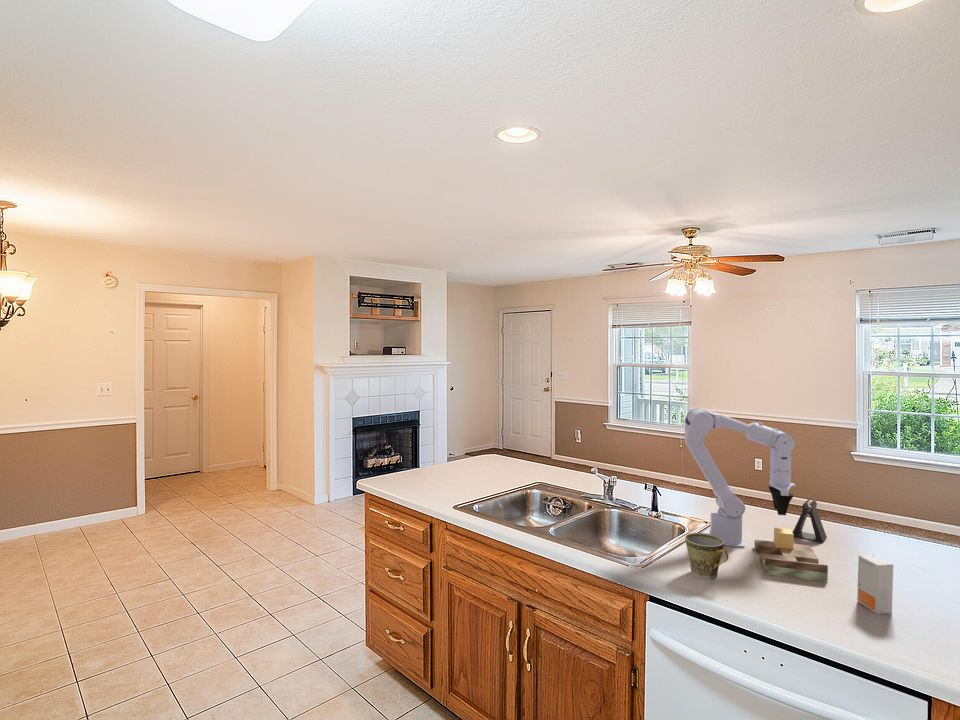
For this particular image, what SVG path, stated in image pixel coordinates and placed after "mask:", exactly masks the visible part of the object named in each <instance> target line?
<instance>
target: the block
mask: <svg viewBox="0 0 960 720" xmlns="http://www.w3.org/2000/svg"><path fill="white" fill-rule="evenodd" d="M792 532H793V530H792V529H791V528H790V529H789V528H781V527H773V542H774V544H775V546H776V547H778V548H787V549H793V544H794V538H795V537H794V534H793V533H792Z"/></svg>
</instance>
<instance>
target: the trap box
mask: <svg viewBox="0 0 960 720" xmlns="http://www.w3.org/2000/svg"><path fill="white" fill-rule="evenodd" d="M754 550H755V552H756V554H759V562H760V564H761V567H762V571H763V572H764V575H772V576H780V577H787V578H795V579H801V580H803V579H804V580H810V581H817V582H825V583H828V578H829V577H828V575H829V573H828V571H829V564H823V563H819V562H820V561H819V558H818V556H817V554H816V553H815V551H814V549H812V546H811V545H806V544H799V543H793V549H787V548H778V547H776V546H775V544H774V540H773V541H772V540H771V541H770V540H763V539H754Z"/></svg>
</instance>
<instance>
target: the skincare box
mask: <svg viewBox="0 0 960 720" xmlns="http://www.w3.org/2000/svg"><path fill="white" fill-rule="evenodd" d="M857 563H858V564H857V565H858V566H857V567H858V568H857V598H856V601H857V603H859V604H861V605H862V606H864V607H865V608H867V609H868V610H870V611H871V612H873V613H874V614H876V615H880V614H881V615H882V614H893V613H892V612H893V589H894V587H893V586H894V581H893V580H894V564H893V563H891V562H889V561H887V560H885V559H883V558H881V557H879V556H877V555H874V554H861V555H858V562H857Z"/></svg>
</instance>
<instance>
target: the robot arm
mask: <svg viewBox="0 0 960 720" xmlns="http://www.w3.org/2000/svg"><path fill="white" fill-rule="evenodd" d="M721 427H724V428H726V429H729V430H731V431H735V432H739V433H742V434H744V435H745V437H746V438H747V440H749V441H753V442H755V443H758V444H760V445H764V446H767V447H770V454H769V455H770V456H769V459H770V461H769V463H770V466H769V482H768V484H769V485H768V486H767V488H768V489H769V491H770V494H771V497H772V502H773V507H774V509H775V510H776V513H777V515H778V516H786V515H787V513H788V509H789V505H790V502H791V501H792V499H793V498H794V495H793V493H789V492H790V489H791V488H796V484H795V483H793V482H792V480H791V479H792V450H793V449H794V448H795V445H796V443H795V441H794V439H793V437H792V436H791V434H788V433H786V432H784V431H782V430H779V429H778V428H776V427H773V428H772V427H769V426H766V425H764V423H763V422H760V421H758V422H755V421H753V422H751V423H748V424H747V423H745V422H742V421H740V420H738V419H734V418H732V417H729V416H727V415H724V414H721V413H718V412H716V411H715V412H714V411H710V410H707V409H706V410H703V409H702V408H693V409H690V410H689V411H688V412H687V414H686V416H685V418H684V443H685V446H686V447H687V448H688V450H689V452H690V453H691V455H692V456H693V458H694V460H695V462H696V463H697V465H698V467H699V468H700V470H701V472H702V473H703V475H704V477H705V478H706V480H707V482H708V483H709V485H710V487H711V488H712V492H713V494H714V496H715V502H716V504H717V506H718V509H717V512H711V513H710V524H709V526H710V529H709V534H711V535H715V536H717V537H720V538H721V539H723V540H724V546H729V547H737V548H745V546H746V545H745V543H744V540H743V515H744V513H745V511H746V505H745V503H744V502H743V500H741V499H740V497H737V495H736V494H735V493H734V491H733V489H732V488H731V487H730V486H729V484H728V483H727V481H726V479H725V478H724V476H723V475H722V473H721V471H720V469H719V468H718V466H717V464H716V463H715V461H714V460H713V457H712V456H711V454H710V453H709V451H708V448H706V446H705V444H704V441H705V438H706V436H707V435H708V434H709V432H710V431H711V430H712V429H718V428H721Z"/></svg>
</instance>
